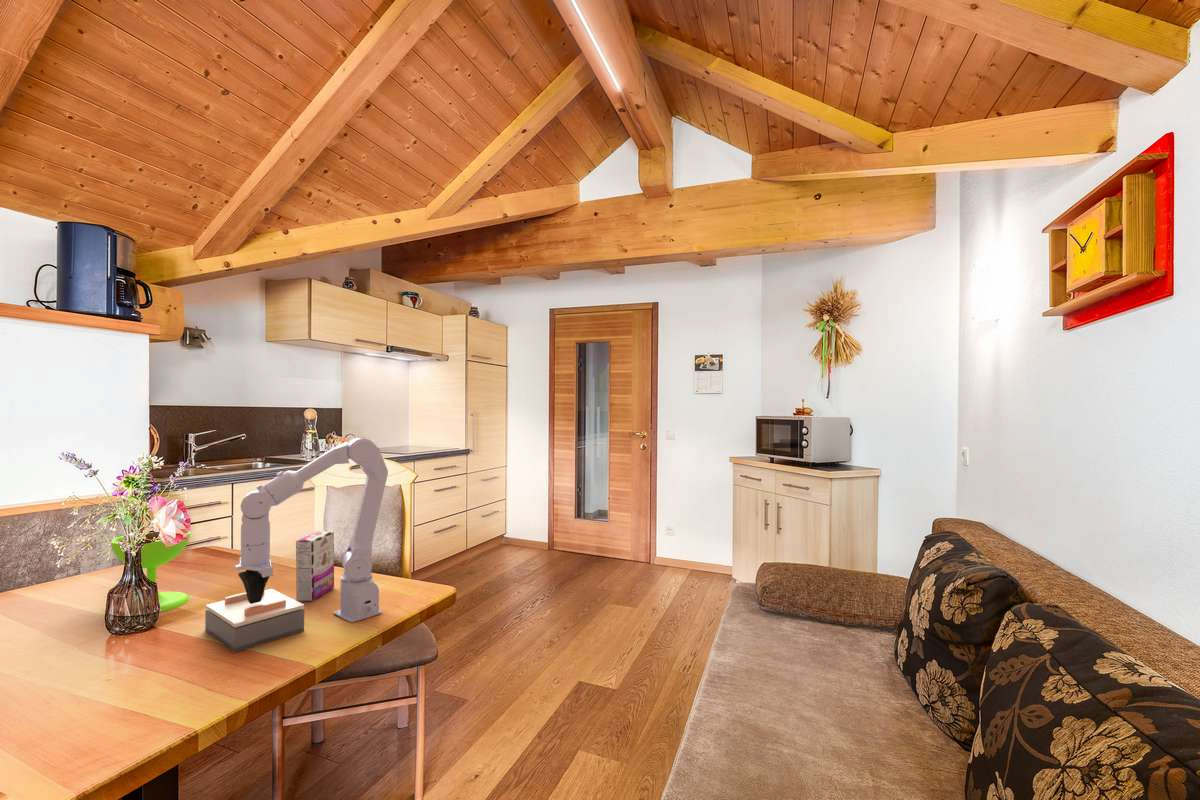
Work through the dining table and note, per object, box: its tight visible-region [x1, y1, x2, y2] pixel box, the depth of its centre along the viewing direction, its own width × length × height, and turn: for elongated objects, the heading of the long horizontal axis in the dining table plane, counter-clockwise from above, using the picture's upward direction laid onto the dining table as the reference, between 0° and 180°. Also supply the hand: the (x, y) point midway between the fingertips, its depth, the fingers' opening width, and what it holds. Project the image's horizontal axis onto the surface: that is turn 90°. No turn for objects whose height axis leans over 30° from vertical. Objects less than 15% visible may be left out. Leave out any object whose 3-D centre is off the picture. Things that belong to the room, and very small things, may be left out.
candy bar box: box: [295, 530, 335, 602], centre depth 149 cm, size 11×5×16 cm, turn 179°
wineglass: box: [110, 530, 191, 613], centre depth 141 cm, size 16×16×18 cm
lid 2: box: [220, 595, 305, 627], centre depth 122 cm, size 9×14×2 cm, turn 142°
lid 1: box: [205, 588, 287, 617], centre depth 127 cm, size 9×14×2 cm, turn 142°
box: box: [204, 608, 305, 654], centre depth 125 cm, size 18×14×5 cm
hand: (254, 602), depth 125 cm, fingers closed
